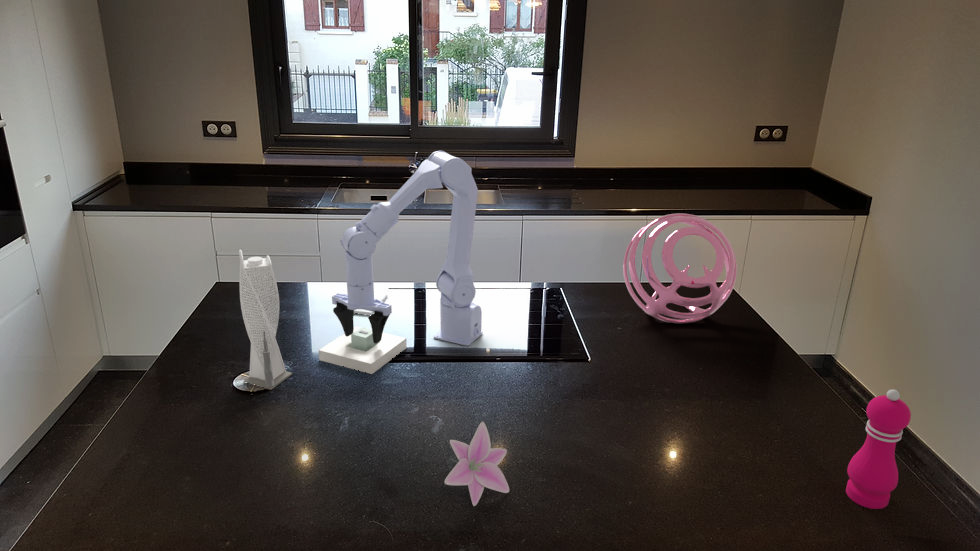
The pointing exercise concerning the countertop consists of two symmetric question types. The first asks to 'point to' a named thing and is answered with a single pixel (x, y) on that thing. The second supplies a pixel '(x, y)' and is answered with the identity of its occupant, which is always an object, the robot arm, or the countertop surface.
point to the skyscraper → (261, 321)
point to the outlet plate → (362, 352)
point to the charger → (362, 339)
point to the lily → (478, 465)
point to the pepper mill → (878, 452)
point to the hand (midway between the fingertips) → (363, 338)
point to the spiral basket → (680, 277)
